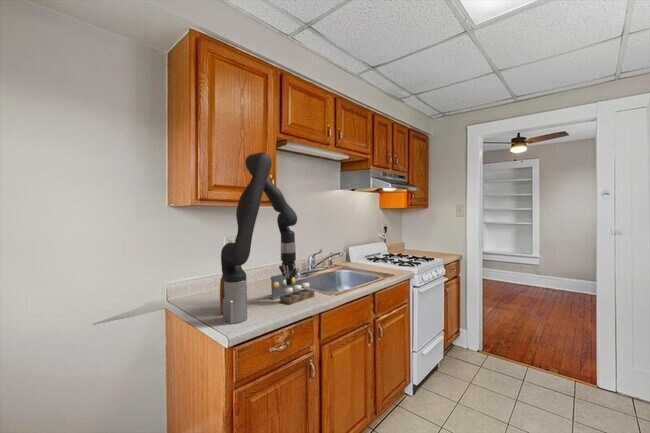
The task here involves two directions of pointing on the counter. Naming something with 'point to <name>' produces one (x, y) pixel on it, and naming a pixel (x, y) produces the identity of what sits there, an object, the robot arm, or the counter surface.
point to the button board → (296, 296)
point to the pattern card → (280, 286)
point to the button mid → (297, 287)
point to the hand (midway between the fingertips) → (289, 285)
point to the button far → (305, 285)
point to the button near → (289, 290)
